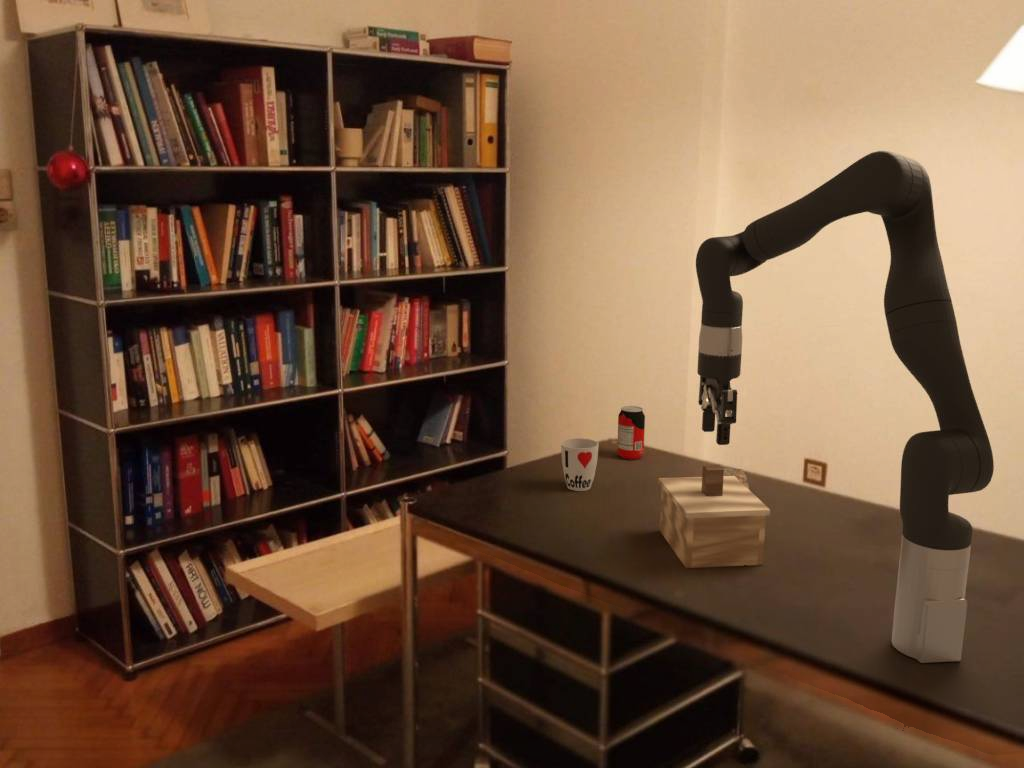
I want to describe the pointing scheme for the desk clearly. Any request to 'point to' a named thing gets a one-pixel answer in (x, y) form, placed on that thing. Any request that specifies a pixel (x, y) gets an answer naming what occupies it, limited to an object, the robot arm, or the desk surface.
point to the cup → (579, 462)
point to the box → (712, 537)
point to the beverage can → (631, 432)
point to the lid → (712, 495)
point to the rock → (736, 475)
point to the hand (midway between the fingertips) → (715, 437)
